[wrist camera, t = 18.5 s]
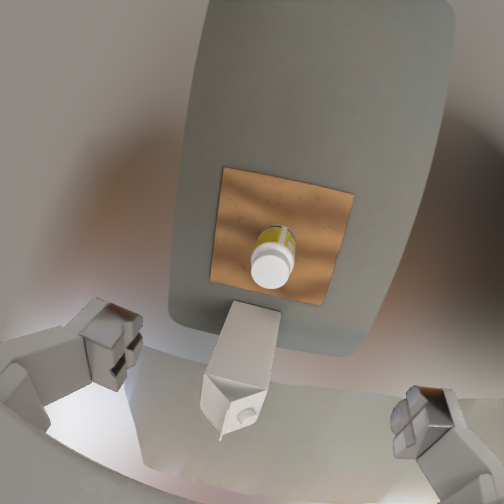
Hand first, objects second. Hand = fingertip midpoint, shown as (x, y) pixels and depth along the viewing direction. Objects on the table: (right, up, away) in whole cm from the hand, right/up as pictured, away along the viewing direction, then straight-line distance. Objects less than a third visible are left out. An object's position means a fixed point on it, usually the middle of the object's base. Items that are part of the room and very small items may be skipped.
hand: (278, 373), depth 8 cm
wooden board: (+3, +5, +32) cm, 32 cm away
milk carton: (-1, -7, +38) cm, 39 cm away
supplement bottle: (+2, +5, +32) cm, 32 cm away
